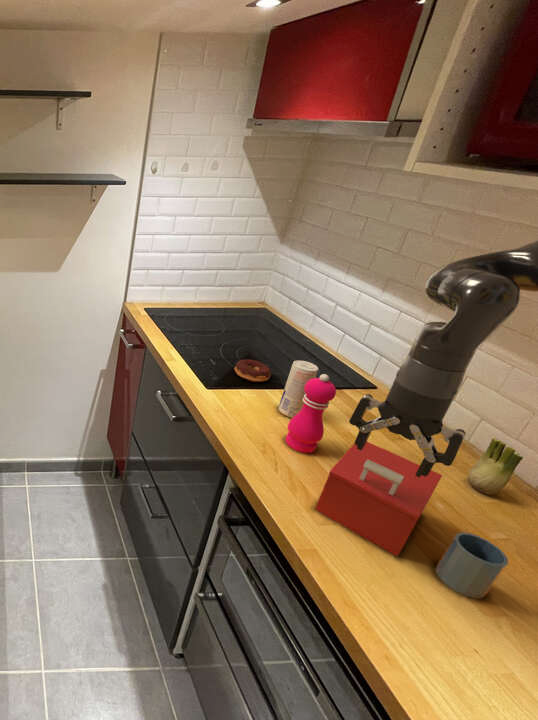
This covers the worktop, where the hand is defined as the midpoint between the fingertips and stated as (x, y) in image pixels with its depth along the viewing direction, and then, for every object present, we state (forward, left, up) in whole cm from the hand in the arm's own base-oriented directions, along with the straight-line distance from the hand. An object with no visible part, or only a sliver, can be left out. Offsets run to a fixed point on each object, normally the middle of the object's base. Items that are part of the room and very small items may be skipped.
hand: (388, 460), depth 80 cm
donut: (+17, -54, -17) cm, 60 cm away
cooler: (-3, -5, -17) cm, 18 cm away
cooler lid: (-3, -5, -7) cm, 9 cm away
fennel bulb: (-27, -24, -17) cm, 40 cm away
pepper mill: (+7, -23, -17) cm, 30 cm away
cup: (-14, +6, -17) cm, 22 cm away
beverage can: (+8, -37, -17) cm, 42 cm away
